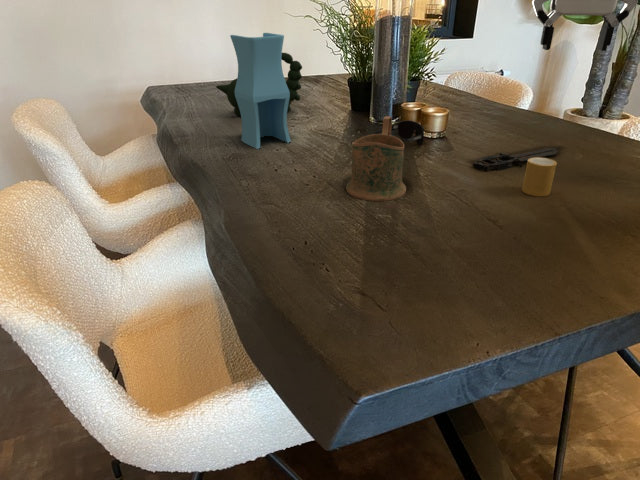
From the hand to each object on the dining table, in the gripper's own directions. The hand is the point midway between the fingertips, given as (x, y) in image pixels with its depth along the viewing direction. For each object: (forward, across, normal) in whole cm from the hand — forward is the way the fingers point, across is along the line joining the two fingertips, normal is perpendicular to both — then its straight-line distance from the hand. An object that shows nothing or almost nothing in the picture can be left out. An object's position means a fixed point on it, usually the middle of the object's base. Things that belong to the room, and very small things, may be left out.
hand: (573, 49), depth 91 cm
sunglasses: (+24, +32, -15) cm, 43 cm away
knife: (+24, +4, -8) cm, 26 cm away
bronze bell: (+24, +34, +12) cm, 44 cm away
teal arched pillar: (+24, +65, -13) cm, 71 cm away
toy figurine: (+24, +74, -40) cm, 88 cm away
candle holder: (+24, +4, +11) cm, 27 cm away
